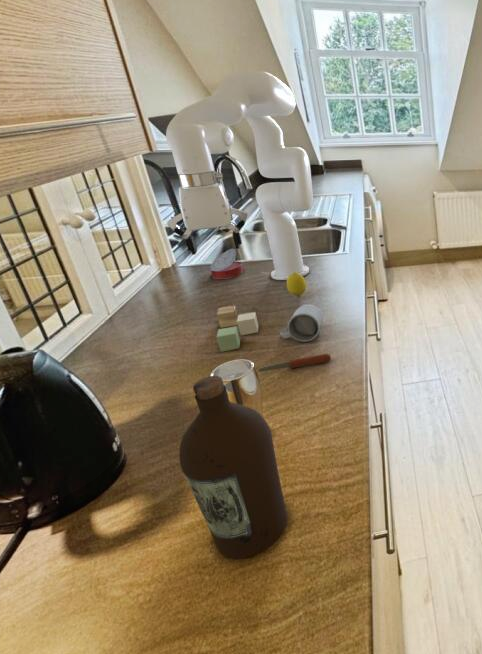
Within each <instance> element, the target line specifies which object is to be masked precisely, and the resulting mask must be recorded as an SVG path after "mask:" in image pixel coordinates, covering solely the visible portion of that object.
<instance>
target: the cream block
mask: <svg viewBox="0 0 482 654" xmlns="http://www.w3.org/2000/svg"><path fill="white" fill-rule="evenodd" d="M237 315H238V319H237V329H238V332H239V336H247V335H252V334H257V333H259V322H258V318H257V314H256V311H254V312H246V313H241V314H237Z"/></svg>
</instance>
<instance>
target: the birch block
mask: <svg viewBox="0 0 482 654" xmlns="http://www.w3.org/2000/svg"><path fill="white" fill-rule="evenodd" d="M238 315H239V314H238V311H237V308H236V305H228V306H223V307H218V309H217V313H216V317H217V322H218V324H219V327H220V328H219V329H224V328H229V327H235V326H238V324H237V319H238Z"/></svg>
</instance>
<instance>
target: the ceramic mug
mask: <svg viewBox="0 0 482 654" xmlns="http://www.w3.org/2000/svg"><path fill="white" fill-rule="evenodd" d="M323 320H324V316H323V312H322V310H321V309H320V307H318V306H317V305H314V304H310V303H308V304H303V305H301V306H299V307H298V308H297V309H296V310H295V311H294V313H293V315H292V316H291V317H290V319H289V320H288V322H287V325H286V326H285V327H284V328H282V330H281V331H280V333H279V335H280V336H281V337H282V339H284V340H285V339H288V338H292V339H294V340H295V341H298V342H303V343H305V342H311V341H313V340H315V339H316V338H317V337H318V336H319V333H320V330H321V327H322V324H323Z"/></svg>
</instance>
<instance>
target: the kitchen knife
mask: <svg viewBox="0 0 482 654" xmlns="http://www.w3.org/2000/svg"><path fill="white" fill-rule="evenodd" d="M331 359H332V357H331V354H330V353H320V354H315V355H309V356H304V357H301V358H300V357H299V358H294V359H290V360H289V361H285V362H280V363H275V364H271V365H267V366H264V367H260V368H259V369H258V370H257V372H259V373H260V372H266V371H268V372H269V371H274V370H281V369H287V368H290V369H292V370H293V369H296V368H299V367H304V366H305V367H306V366H311V365H319V364H325V363H328V362H330V361H331Z"/></svg>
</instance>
